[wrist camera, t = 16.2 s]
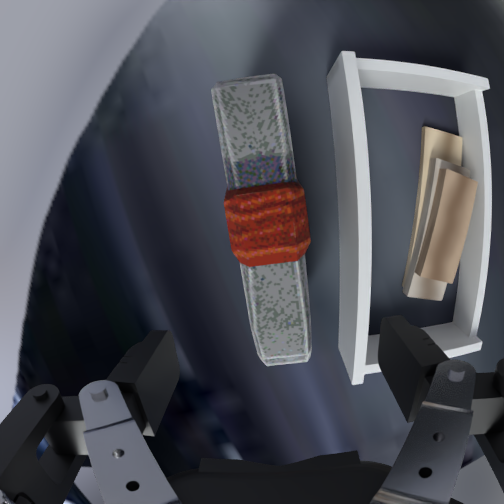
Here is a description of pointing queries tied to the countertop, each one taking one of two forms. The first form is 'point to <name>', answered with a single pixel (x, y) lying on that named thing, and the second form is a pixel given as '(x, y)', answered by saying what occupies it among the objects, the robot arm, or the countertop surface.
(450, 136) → the bottom offcut
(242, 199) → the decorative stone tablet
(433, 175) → the middle offcut
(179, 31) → the countertop surface
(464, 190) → the top offcut
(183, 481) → the robot arm
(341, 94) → the white open box
